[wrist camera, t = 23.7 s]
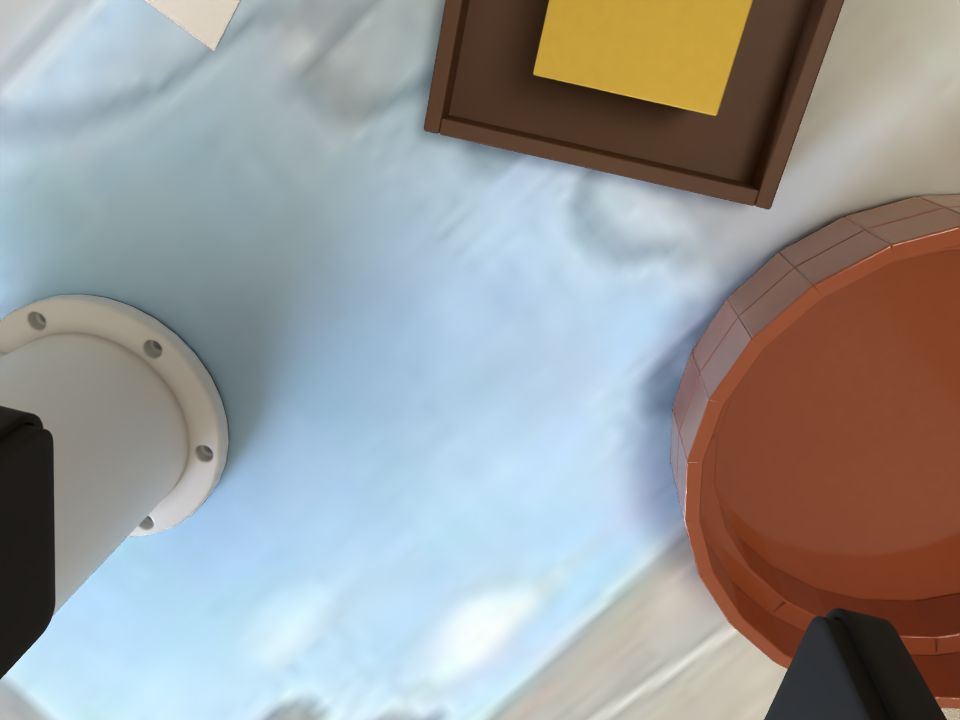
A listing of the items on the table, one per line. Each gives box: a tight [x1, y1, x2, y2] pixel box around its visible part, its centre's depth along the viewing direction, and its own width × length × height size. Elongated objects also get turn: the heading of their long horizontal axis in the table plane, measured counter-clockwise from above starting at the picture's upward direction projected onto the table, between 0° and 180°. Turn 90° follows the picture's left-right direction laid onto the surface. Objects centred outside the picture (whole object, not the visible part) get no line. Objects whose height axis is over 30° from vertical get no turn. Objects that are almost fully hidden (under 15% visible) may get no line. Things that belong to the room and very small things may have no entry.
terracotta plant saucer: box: [670, 195, 960, 709], centre depth 30 cm, size 20×20×6 cm
